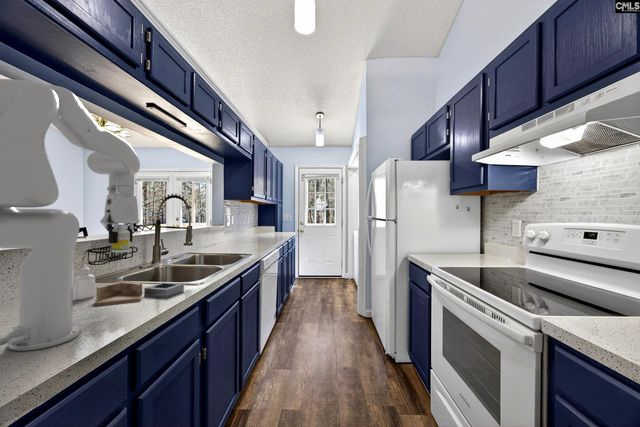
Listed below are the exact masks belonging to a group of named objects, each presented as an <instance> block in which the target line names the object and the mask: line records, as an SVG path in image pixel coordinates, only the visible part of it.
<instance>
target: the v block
mask: <svg viewBox="0 0 640 427" xmlns="http://www.w3.org/2000/svg"><path fill="white" fill-rule="evenodd" d="M142 296H143V283H140V282H130V281H128V280H127V281H126V280H125V281H116V282H115V283H110V284H106V285H101V286H97V287H96V300H95V301H94V303H93V307H99V306H100V307H101V306H107V305H108V306H109V305H116V304H117V305H119V304H125V303H127V304H128V303H136V302H141V300H142Z"/></svg>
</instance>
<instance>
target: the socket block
mask: <svg viewBox="0 0 640 427" xmlns="http://www.w3.org/2000/svg"><path fill="white" fill-rule="evenodd" d="M184 286H185V284H184V283H178V282H176V283H175V282H159V283H156V284H153V285H150V286H146V287H144V290H143V291H144V293H143V294H144V297H150V298H162V299H163V298H164V299H168V298H170V297H173V296H175V295H178V294H180V293H182V292H184V291H185V287H184Z"/></svg>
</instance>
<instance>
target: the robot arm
mask: <svg viewBox="0 0 640 427" xmlns="http://www.w3.org/2000/svg"><path fill="white" fill-rule="evenodd" d="M51 125H53V126H54V127H55V128H56V129H57V130H58V131H59V132H60V133H61V134H62V135H63V136H64V137H65V138H66V139H67V141H69V143H71V144H72V145H74V146H76V147H79V148H81V149H85V150H88V151H91V152H92V153H90V154H89V155H88V156H87V160H86V163H87V164H86V165H87V166H88V168H89V169H90V170H91V171H92V172H94V173H96V174H98V175H108V187H106V190H107V191H108V194H107V195H106V200H105V203H104V215H103V217H102V218H101V220H100V221H99V222H100V224H101V225H102V226H104V228H105V229H106V231H107V232H108V244H112V243H118V232H116V230H117V227H118V225H120V224H123V225H128V229H127V230H128V231H129V232H130V243H131V242H133V234H134V233H133V232H134V231H135V228H136V227H137V225H138V224H139V223H140V219H139V204H138V199H137V195H135V175H136V174H137V173H138V172H139V171H140V169H141V161H140V159H139V156H138V155H137V154H138V153H136V151H135V150H134V149H133V147H132V145H131V144H130V143H129V142H128V141H126V140H125V139H124V138H121V137H120V136H118V135H117V134H114V133H113V132H111V131H109V130H108V129H105V128H103V127H101V126H100V125H98V123H97V122H96V120H95V119H94V118H93V116H92V115H91V114H90V113H89V111H88V110H87V108H86V107H85V106H84V105H83V103H82V102H81V101H80V99H79V98H78V97H77V96H76V94H74V92H72V91H71V90H69V89H68V88H66V87H63V86H59V85H53V84H44V83H41V82H36V81H31V80H25V79H23V80H22V79H10V78H0V249H29V250H30V251H29V254H28V255H27V256H25V258H24V259H23V261H22V263H21V265H20V268H19V295H18V297H19V298H18V301H19V302H18V304H19V305H18V325H15V326H12V331H10V332H8V334H5V335H0V347H1V346H3V345H6V344H7V346H8V348H9V349H10V350H12V351H19V352H20V351H21V352H22V351H25V352H26V351H35V350H40V349H41V350H42V349H47V348H50V347H54V346H58V345H61V344H64V343H66V342H69V341H71V340H74V339H75V338H77V337H78V336H80V333H81V327H80V326H78V325H73V318H74V317H73V315H74V314H73V311H74V308H73V307H74V306H73V305H74V303H73V302H74V261H75V252H76V251H75V250H76V246H77V240H78V237H79V234H80V221H79V219H78V218H77V216H75V215H74V213H72V212H69V211H67V210H63V209H58V208H57V209H56V208H43V207H48V206H51V205H53V204H55V203H56V202H57V200H58V199H59V193H60V192H59V187H58V182H57V180H56V177H55V174H54V171H53V169H52V165H51V162H50V160H49V157H48V154H47V150H46V145H45V144H46V143H45V141H46V140H45V139H46V134H47V133H48V129H49V128H50V126H51Z"/></svg>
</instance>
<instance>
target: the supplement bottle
mask: <svg viewBox="0 0 640 427" xmlns="http://www.w3.org/2000/svg"><path fill="white" fill-rule="evenodd" d="M128 226H129V224H128V225H124V224H118V227H117V230H116V232H118V243H111V248H110V249H111V252H112V253H127V252H129V251H130V248H131V247H130V245H131V242H130V232H129V231H128V230H127V229H128Z"/></svg>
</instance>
